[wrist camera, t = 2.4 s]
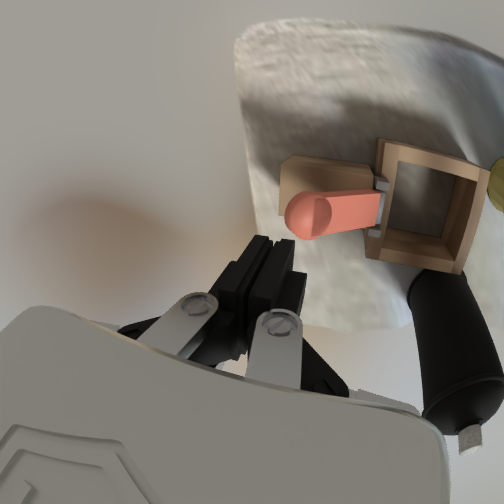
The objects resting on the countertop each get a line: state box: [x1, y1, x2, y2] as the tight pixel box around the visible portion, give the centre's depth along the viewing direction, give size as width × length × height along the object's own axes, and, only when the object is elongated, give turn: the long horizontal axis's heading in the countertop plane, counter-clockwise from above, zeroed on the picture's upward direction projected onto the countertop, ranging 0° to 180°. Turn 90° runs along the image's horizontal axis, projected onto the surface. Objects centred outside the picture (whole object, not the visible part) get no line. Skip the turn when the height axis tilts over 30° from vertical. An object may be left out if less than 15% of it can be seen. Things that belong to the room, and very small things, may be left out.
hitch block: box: [279, 138, 490, 275], centre depth 21 cm, size 18×10×7 cm, turn 90°
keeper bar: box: [284, 189, 386, 240], centre depth 18 cm, size 8×3×1 cm
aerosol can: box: [407, 269, 504, 456], centre depth 18 cm, size 8×8×20 cm
